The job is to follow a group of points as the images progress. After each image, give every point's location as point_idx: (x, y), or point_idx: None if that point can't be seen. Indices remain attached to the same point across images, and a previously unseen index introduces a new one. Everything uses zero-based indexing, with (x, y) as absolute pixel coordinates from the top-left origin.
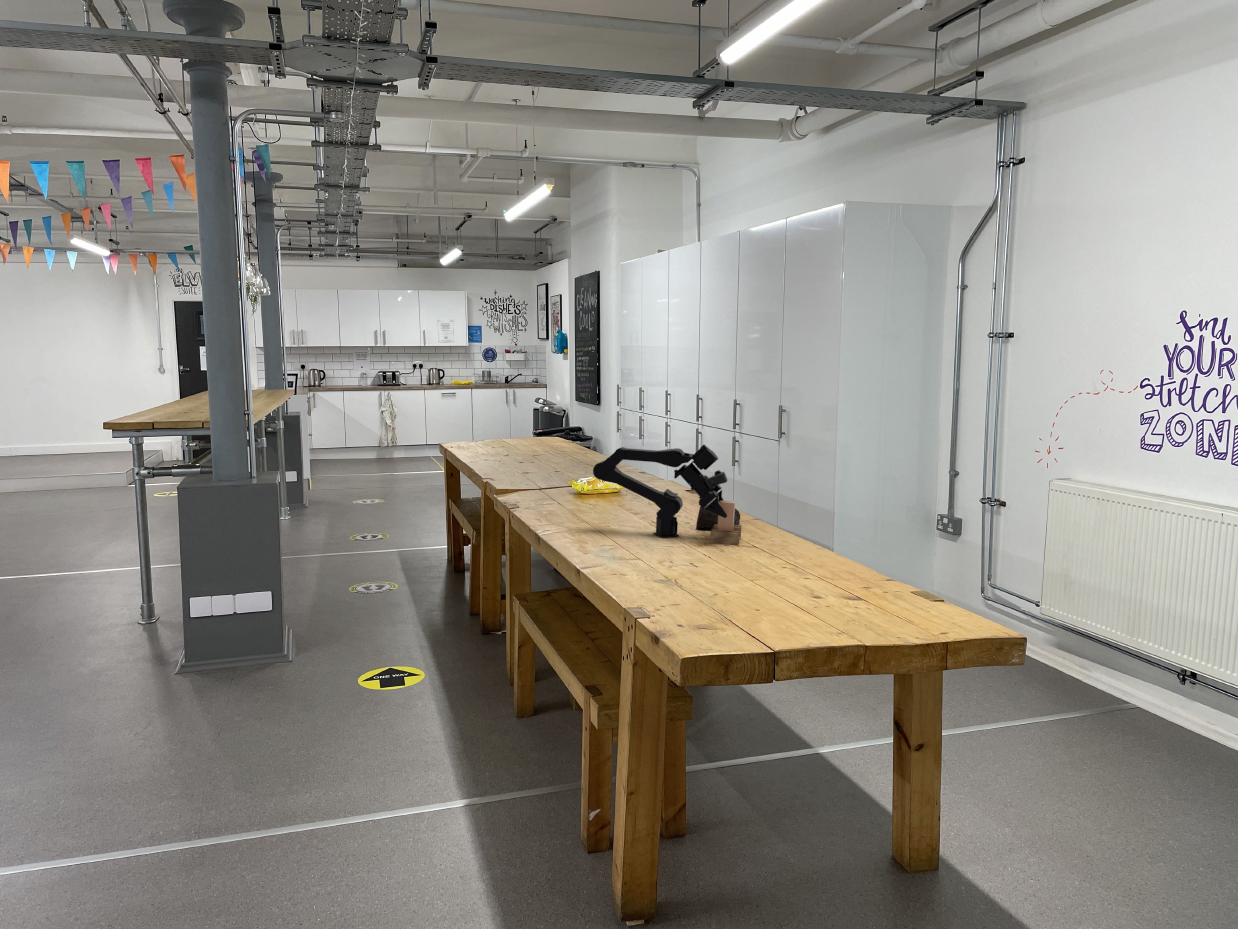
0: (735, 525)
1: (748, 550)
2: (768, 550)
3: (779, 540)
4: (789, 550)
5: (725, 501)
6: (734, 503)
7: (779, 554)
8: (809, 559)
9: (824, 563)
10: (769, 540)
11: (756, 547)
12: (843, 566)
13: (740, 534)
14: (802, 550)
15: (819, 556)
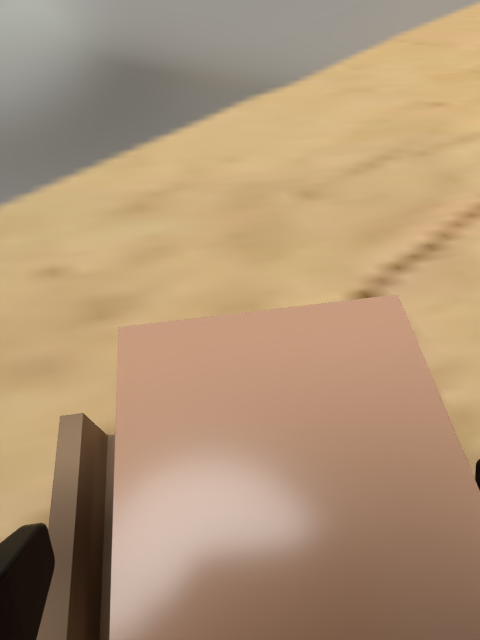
0: (59, 473)
1: (477, 320)
2: (397, 236)
3: (124, 227)
4: (333, 169)
5: (273, 562)
6: (273, 322)
7: (444, 189)
8: (442, 106)
9: (464, 73)
10: (144, 266)
11: (368, 296)
12: (459, 40)
13: (106, 437)
14: (300, 135)
15: (367, 89)
